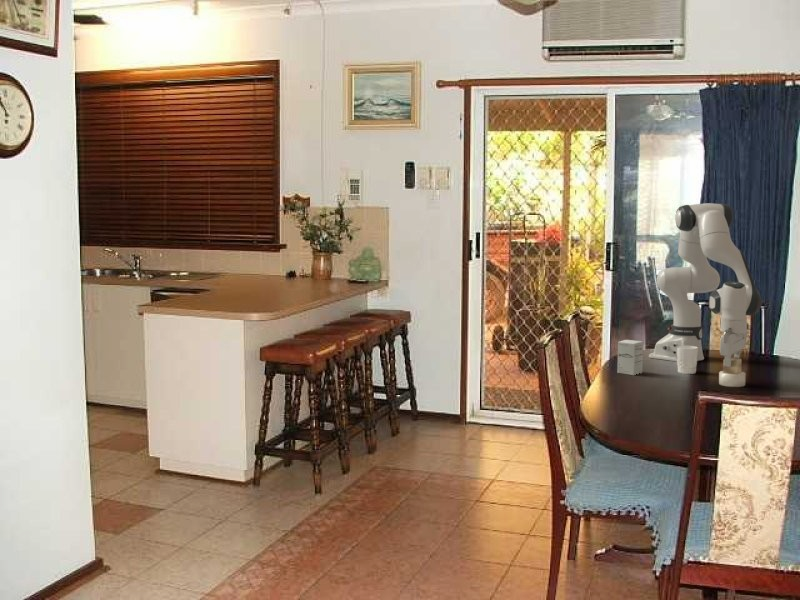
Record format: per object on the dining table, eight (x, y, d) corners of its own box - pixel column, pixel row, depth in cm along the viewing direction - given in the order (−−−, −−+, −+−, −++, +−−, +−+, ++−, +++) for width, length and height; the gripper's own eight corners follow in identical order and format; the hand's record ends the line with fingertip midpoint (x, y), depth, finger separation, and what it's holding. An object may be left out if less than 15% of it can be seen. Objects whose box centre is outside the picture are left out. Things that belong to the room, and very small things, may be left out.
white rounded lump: (715, 385, 320) (715, 373, 320) (723, 381, 327) (723, 369, 327) (740, 388, 315) (741, 376, 314) (748, 384, 322) (748, 372, 321)
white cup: (698, 371, 346) (699, 346, 345) (696, 374, 339) (696, 349, 338) (677, 369, 349) (678, 345, 348) (674, 373, 342) (675, 348, 341)
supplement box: (616, 373, 344) (617, 341, 343) (626, 370, 349) (626, 339, 348) (633, 375, 339) (634, 343, 338) (643, 372, 344) (643, 341, 343)
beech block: (723, 373, 320) (723, 359, 320) (727, 371, 324) (727, 357, 324) (737, 374, 317) (737, 361, 317) (741, 372, 321) (741, 359, 321)
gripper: (733, 331, 308) (732, 369, 310) (750, 324, 325) (749, 360, 326) (715, 329, 312) (714, 368, 314) (732, 322, 329) (731, 359, 330)
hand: (732, 364), depth 320 cm, fingers open, 8 cm apart
